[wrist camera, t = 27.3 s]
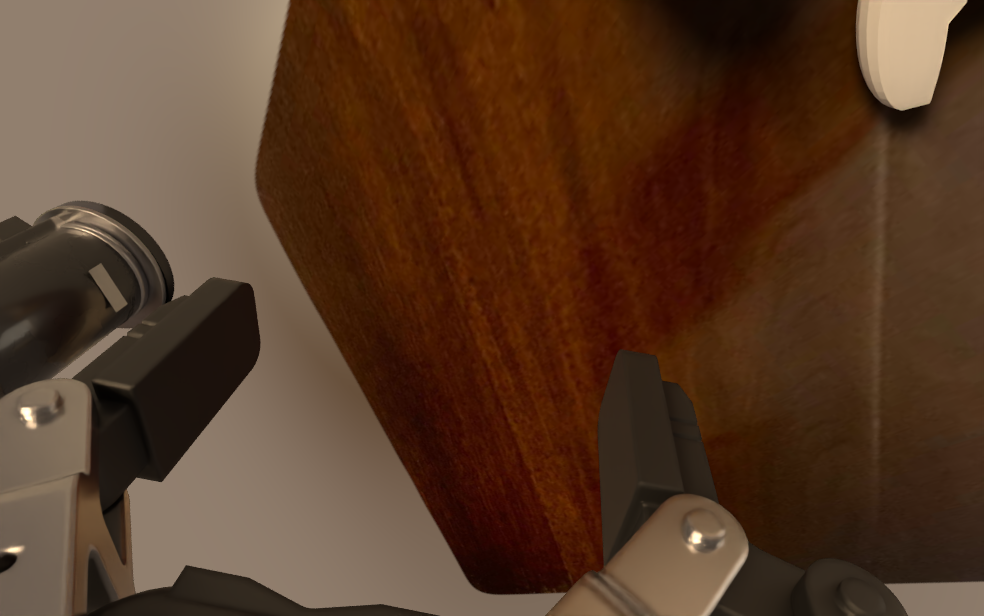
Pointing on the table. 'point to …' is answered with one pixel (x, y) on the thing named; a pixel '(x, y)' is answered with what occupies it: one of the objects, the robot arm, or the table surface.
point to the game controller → (903, 47)
